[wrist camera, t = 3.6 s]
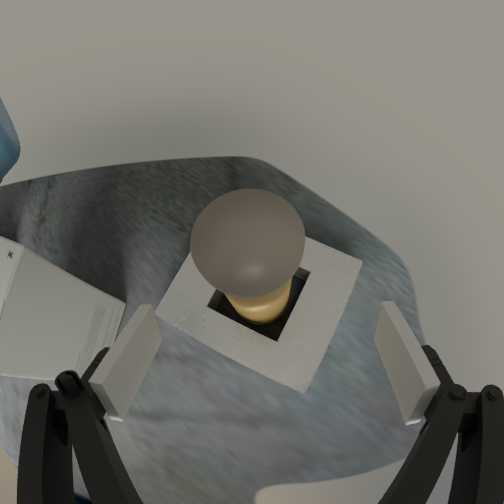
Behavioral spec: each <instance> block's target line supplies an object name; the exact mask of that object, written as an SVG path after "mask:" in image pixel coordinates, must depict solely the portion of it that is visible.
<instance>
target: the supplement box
mask: <svg viewBox="0 0 504 504" xmlns="http://www.w3.org/2000/svg"><path fill="white" fill-rule="evenodd" d="M125 306H126V303H125V302H123V301H121V300H119V299H117V298H115V297H113V296H111V295H109V294H107V293H105V292H103V291H101V290H99V289H97V288H95V287H93V286H92V285H90V284H88V283H86V282H84V281H82V280H80V279H79V278H77V277H75V276H73V275H71V274H70V273H68V272H66V271H64V270H63V269H61V268H59V267H57V266H56V265H54V264H52V263H51V262H49V261H47V260H46V259H44V258H42V257H41V256H39V255H37V254H36V253H34V252H33V251H31V250H30V249H28V248H27V247H25V246H23V245H21V244H19V243H17V242H14V241H12V240H9V239H7V238H4V237H2V236H0V375H3V376H12V377H21V378H32V379H44V380H55V379H56V377H57V376H58V375H59V374H60V373H61V372H63V371H66V370H74V371H75V372H77V374H78V376H79V378H81V377H82V375H83V374H84V372H85V371H86V370H87V368H88V367H89V365H90V364H91V362H92V361H93V360H94V358H95V356H96V355H97V354H98V352H99V351H101V350H102V349H103V348H105V347H109V348H111V346H112V345H113V343H114V342H115V338H116V335H117V332H118V328H119V325H120V322H121V319H122V316H123V313H124V309H125Z"/></svg>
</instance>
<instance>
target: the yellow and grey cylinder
mask: <svg viewBox="0 0 504 504" xmlns="http://www.w3.org/2000/svg"><path fill="white" fill-rule="evenodd" d="M304 248H305V230H304V225H303V222H302V220H301V218H300V216H299V214H298V212H297V211H296V210H295V208H294V207H293V206H292V205H291V204H290V203H289V202H288V201H286V200H285V199H284V198H282V197H281V196H279V195H277V194H275V193H273V192H270V191H267V190H262V189H255V188H245V189H238V190H234V191H230V192H228V193H225V194H223V195H221V196H219V197H217V198H216V199H214V200H213V201H212V202H210V203H209V204H208V205H207V206H206V207H205V208H204V209H203V210H202V211H201V213H200V214H199V215H198V217H197V219H196V221H195V223H194V225H193V228H192V232H191V237H190V250H191V255H192V258H193V261H194V263H195V265H196V267H197V269H198V270H199V272H200V273H201V275H202V276H203V277H204V278H205V279H206V281H207V282H208V283H209V284H211V285H212V286H213V287H214V288H216V289H217V290H219V291H221V292H223V293H224V294H225V295H226V297H227V298H228V300H229V301H230V303H231V304H232V305H233V307H234V308H235V310H236V311H237V312H238V314H239V315H240V316H241V317H242V318H243V319H244V320H245V321H247V322H249V323H251V324H254V325H267V324H271V323H273V322H275V321H277V320H278V319H279V318H280V317H281V316H282V315H283V314H284V312H285V311H286V308H287V305H288V301H289V294H290V288H291V281H292V276H293V275H294V274H295V272H296V271H297V269H298V267H299V265H300V263H301V260H302V257H303V253H304Z"/></svg>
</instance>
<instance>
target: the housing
mask: <svg viewBox="0 0 504 504" xmlns="http://www.w3.org/2000/svg"><path fill="white" fill-rule="evenodd" d="M362 263H363V261H361V260H358V259H356V258H354V257H352V256H349V255H347V254H345V253H343V252H340V251H338V250H336V249H334V248H331V247H329V246H327V245H324V244H322V243H320V242H318V241H315V240H313V239H311V238H308V237H306V236H305V248H304V253H303V257H302V260H301V263H300V265H299V267H298V269H297V271H296V272H295V274H294V275H293V276H294V277H297V278H299V279H301V280H303V281H306V284H305V286H304V288H303V290H302V292H301V294H300V296H299V298H298V300H297V303H296V305H295V307H294V309H293V311H292V313H291V315H290V317H289V319H288V321H287V323H286V325H285V327H284V329H283V331H282V333H281V335H280V337H279V339H278V341H277V342H276V341H274V340H272V339H270V338H268V337H265V336H263V335H261V334H259V333H257V332H255V331H253V330H251V329H249V328H247V327H245V326H243V325H241V324H239V323H237V322H235V321H233V320H231V319H229V318H228V317H226V316H224V315H222V314H220V313H218V312H216V309H217V307H218V305H219V303H220V302H221V300H222V298H223V296H224V293H223V292H221V291H219V290H217V289H216V288H214V287H213V286H212V285H211V284H209V283H208V282H207V281H206V279H205V278H204V277H203V276H202V275H201V273H200V272H199V270H198V269H197V267H196V265H195V263H194V261H193V258H192V255H191V251H190V253H189V255H188V256H187V258H186V260H185V261H184V263H183V265H182V266H181V268H180V270H179V271H178V273H177V275H176V276H175V278H174V280H173V282H172V283H171V285H170V287H169V288H168V290H167V292H166V294H165V295H164V297H163V299H162V300H161V302H160V304H159V306H158V308H157V309H156V311H155V315H156V316H158V317H160V318H161V319H163V320H164V321H166V322H168V323H169V324H171V325H173V326H174V327H176V328H178V329H179V330H181V331H183V332H184V333H186V334H188V335H189V336H191V337H193V338H195V339H196V340H198V341H200V342H202V343H203V344H205V345H207V346H209V347H211V348H212V349H214V350H216V351H218V352H220V353H222V354H224V355H225V356H227V357H229V358H231V359H233V360H235V361H237V362H239V363H241V364H243V365H245V366H247V367H249V368H251V369H253V370H255V371H257V372H259V373H261V374H263V375H265V376H267V377H269V378H271V379H273V380H275V381H277V382H279V383H282V384H284V385H286V386H288V387H290V388H293V389H295V390H297V391H299V392H302V393H304V394H305V392H306V390H307V388H308V386H309V384H310V382H311V380H312V378H313V376H314V374H315V372H316V370H317V368H318V366H319V364H320V362H321V360H322V358H323V356H324V354H325V352H326V350H327V347H328V345H329V343H330V341H331V339H332V336H333V334H334V332H335V330H336V327H337V325H338V323H339V321H340V318H341V316H342V314H343V311H344V309H345V306H346V304H347V302H348V299H349V297H350V294H351V292H352V289H353V287H354V284H355V281H356V279H357V276H358V274H359V271H360V268H361V265H362Z"/></svg>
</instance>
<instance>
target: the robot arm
mask: <svg viewBox="0 0 504 504" xmlns="http://www.w3.org/2000/svg"><path fill="white" fill-rule="evenodd" d="M19 155H20V142H19V139H18V136H17V133H16V130H15V128H14V126H13V123H12V121H11V119H10V116H9V115H8V112H7V110H6V108H5V106H4V104H3V102H2V100H1V98H0V183H1V182H2V179H3V177H4V176H5V175H6V174H7V172H8V171H9V170H10V169H11V168H12V167H13V165H14V164H15V163H16V162H17V160H18V158H19ZM0 236H2V237H4V238H6V237H5V236H4V235H2V234H1V233H0ZM7 239H8V238H7ZM161 342H162V339H161V335H160V332H159V328H158V324H157V321H156V317H155V313H154V309H153V305H152V304H141V305H140V306H139V307H138V309H137V310H136V312H135V313H134V315H133V316H132V317H131V319H130V320H129V322H128V323H127V324H126V326H125V327H124V329H123V330H122V332H121V333H120V335H119V336H118V337H117V339H116V340H115V342H114V343H113V345H112V346H111V348H109V347H105V348H103V349H102V350H101V351H99V352H98V354H97V355H96V356H95V358H94V360H93V361H92V362H91V364H90V365H89V367H88V368H87V370H86V371H85V372H84V374H83V375H82V377H81V378H79V376H78V374H77V372H75V371H74V370H66V371H63V372H61V373H60V374H59V375H58V376H57V377H56V379H55V385H56V386H57V388H58V390H59V391H52V390H51V389H50V387H49V386H48V385H47V384H43V383H41V384H38V385H36V386H34V387H33V388H32V389H31V391H30V394H29V399H28V404H27V409H26V414H25V419H24V425H23V431H22V438H21V446H20V455H19V465H18V479H17V480H18V481H17V504H75V499H74V487H73V468H72V444H73V447H74V451H75V455H76V458H77V461H78V465H79V468H80V471H81V474H82V477H83V480H84V483H85V486H86V488H87V491H88V494H89V496H90V499H91V502H92V504H143V502H142V501H141V499H140V497H139V495H138V493H137V491H136V489H135V488H134V486H133V484H132V482H131V480H130V478H129V476H128V473H127V471H126V469H125V467H124V465H123V463H122V460H121V458H120V456H119V454H118V451H117V449H116V447H115V444H114V442H113V439H112V437H111V434H110V432H109V429H108V426H107V424H106V421H105V419H104V418H103V417H104V415H105V413H107V414H108V416H109V417H110V419H113V420H117V421H121V422H124V419H125V417H126V415H127V413H128V411H129V409H130V406H131V404H132V402H133V400H134V398H135V396H136V394H137V392H138V389H139V387H140V385H141V383H142V381H143V379H144V377H145V375H146V373H147V371H148V369H149V367H150V364H151V362H152V360H153V358H154V356H155V354H156V352H157V350H158V348H159V346H160V344H161ZM374 342H375V344H376V347H377V349H378V352H379V354H380V357H381V359H382V362H383V364H384V367H385V370H386V372H387V375H388V377H389V380H390V383H391V385H392V388H393V391H394V394H395V396H396V399H397V402H398V405H399V408H400V410H401V413H402V416H403V419H404V422H405V425H408V424H413V423H417V422H420V420H421V419H422V417H423V415H424V416H425V418H426V422H425V424H424V425H423V427H422V428H421V430H420V432H419V433H420V434H419V436H418V438H417V440H416V442H415V444H414V446H413V448H412V449H411V451H410V453H409V455H408V457H407V459H406V460H405V462H404V464H403V466H402V467H401V469H400V471H399V472H398V474H397V476H396V477H395V479H394V480H393V482H392V484H391V485H390V487H389V488H388V490H387V491H386V493H385V494H384V496H383V497H382V499H381V500H380V502H379V503H378V504H425V503H426V502H427V500H428V498H429V496H430V494H431V492H432V490H433V488H434V486H435V484H436V482H437V480H438V478H439V476H440V474H441V471H442V469H443V467H444V465H445V463H446V460H447V458H448V455H449V453H450V450H451V448H452V445H453V443H454V440H455V437H456V434H457V433H459V434H458V444H457V453H456V461H455V468H454V474H453V480H452V485H451V491H450V495H449V500H448V504H503V502H504V397H503V393H502V391H501V390H500V388H498V387H497V386H495V385H487V386H485V387H484V388H483V389H482V391H481V392H467V391H466V389H465V388H464V387H462V386H460V385H458V384H454V382H453V381H452V379H451V377H450V375H449V373H448V372H447V370H446V368H445V366H444V365H443V364H442V361H441V360H440V359H439V356H438V354H437V353H436V351H435V350H434V349H433V348H431V347H430V346H429V345H425V346H420V344H419V342H418V341H417V339H416V337H415V336H414V334H413V332H412V330H411V329H410V327H409V325H408V324H407V322H406V320H405V319H404V317H403V315H402V314H401V312H400V311H399V309H398V307H397V306H396V304H395V303H394V301H383V302H381V307H380V312H379V317H378V322H377V326H376V331H375V335H374Z"/></svg>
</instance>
